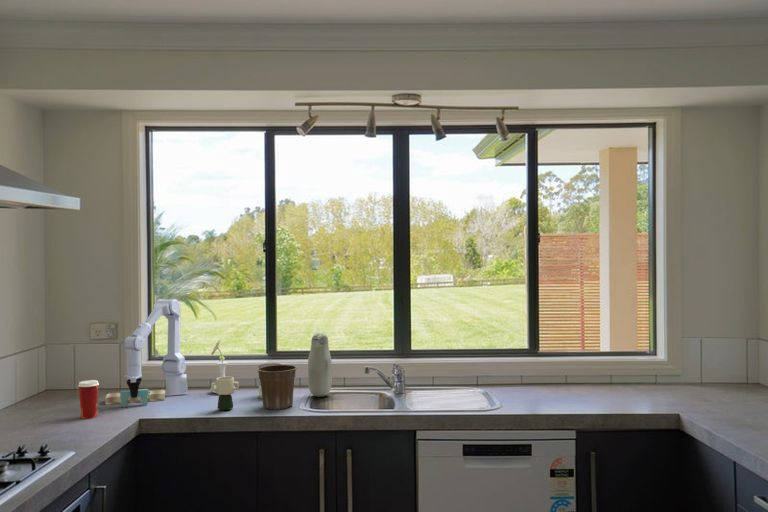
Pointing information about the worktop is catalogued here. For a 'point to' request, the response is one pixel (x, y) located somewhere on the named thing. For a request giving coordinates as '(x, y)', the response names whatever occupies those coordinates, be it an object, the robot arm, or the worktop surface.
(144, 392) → the staple
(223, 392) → the character mug
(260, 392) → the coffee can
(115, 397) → the tan segmented bar
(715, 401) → the worktop surface
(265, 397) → the plant pot
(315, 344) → the white tall rounded figure
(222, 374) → the flower in vase
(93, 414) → the paper cup
